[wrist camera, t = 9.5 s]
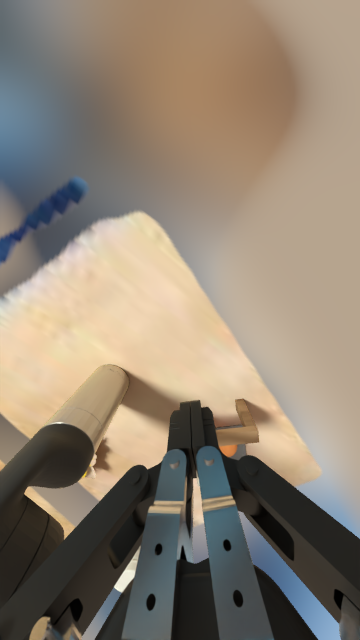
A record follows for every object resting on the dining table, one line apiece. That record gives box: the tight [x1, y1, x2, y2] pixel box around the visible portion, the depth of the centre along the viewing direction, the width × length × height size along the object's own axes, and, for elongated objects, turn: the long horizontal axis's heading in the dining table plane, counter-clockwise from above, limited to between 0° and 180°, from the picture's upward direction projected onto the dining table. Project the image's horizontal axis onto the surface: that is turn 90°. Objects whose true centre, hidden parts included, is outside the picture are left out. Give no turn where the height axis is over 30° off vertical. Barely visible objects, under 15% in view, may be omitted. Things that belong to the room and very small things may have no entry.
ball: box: [219, 445, 237, 457], centre depth 44 cm, size 6×6×6 cm
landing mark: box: [215, 425, 246, 460], centre depth 48 cm, size 13×13×1 cm
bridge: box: [216, 399, 259, 446], centre depth 40 cm, size 3×14×9 cm, turn 100°
